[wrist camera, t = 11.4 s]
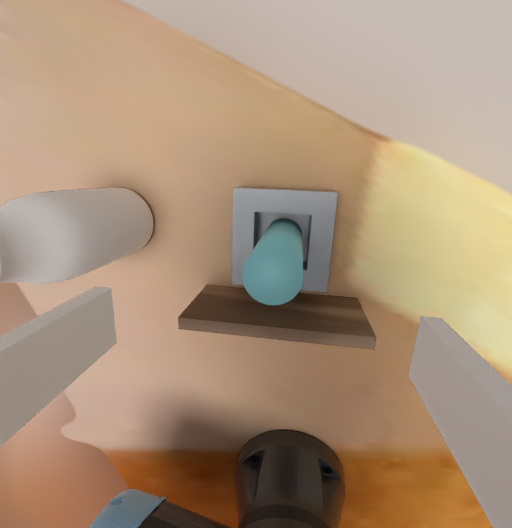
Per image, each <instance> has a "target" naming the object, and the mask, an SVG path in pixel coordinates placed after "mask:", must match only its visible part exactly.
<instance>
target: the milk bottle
mask: <svg viewBox="0 0 512 528" xmlns="http://www.w3.org/2000/svg"><path fill="white" fill-rule="evenodd" d="M152 232H153V217H152V213H151V210H150V208H149V207H148V205H147V203H146V202H145V201H144V200H143V199H142V198H141V197H140V196H139V195H138V194H136V193H135V192H133V191H131V190H128V189H125V188H95V189H77V190H62V191H49V192H40V193H34V194H29V195H25V196H22V197H19V198H16V199H13V200H11V201H9V202H7V203H5V204H4V205H2V206H1V207H0V283H6V282H22V283H33V284H49V283H56V282H61V281H65V280H69V279H72V278H75V277H78V276H80V275H83V274H85V273H88V272H90V271H93V270H95V269H97V268H100V267H102V266H104V265H107V264H109V263H111V262H113V261H116V260H118V259H120V258H122V257H125V256H127V255H129V254H131V253H134V252H136V251H137V250H139V249H141V248H143V247H144V246H145V245H146V244H147V243H148V241H149V240H150V238H151V235H152Z"/></svg>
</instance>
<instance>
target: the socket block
mask: <svg viewBox="0 0 512 528" xmlns="http://www.w3.org/2000/svg"><path fill="white" fill-rule="evenodd" d="M337 196H338V193H337V192H335V191H323V190H301V189H278V188H256V187H236V188H233V222H232V284H234V285H244V284H243V280H242V270H243V266H244V264H245V262H246V260H247V259H248V257H249V256H250V254H251V252H252V251H253V249H254V248H255V246H256V245H257V243H258V242H259V240H260V239H261V237H262V235H263V234H264V232H265V231H266V229H267V228H268V226H269V225H270V224H271V223H272V222H273V221H274V220H276V219H279V218H289V219H292V220H293V221H295V222H296V223H297V224H298V225H299V226H300V228H301V231H302V249H303V283H302V287H301V289H300V290H304V291H316V292H327V286H328V277H329V268H330V259H331V250H332V241H333V232H334V223H335V214H336V205H337Z"/></svg>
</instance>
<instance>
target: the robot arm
mask: <svg viewBox="0 0 512 528" xmlns="http://www.w3.org/2000/svg"><path fill="white" fill-rule="evenodd" d="M116 343H117V342H116V333H115V323H114V313H113V303H112V293H111V288H105V287H94V288H92V289H90V290H88V291H86V292H84V293H82V294H80V295H78V296H76V297H74V298H73V299H71V300H69V301H67V302H65V303H63V304H61V305H59V306H57V307H55V308H54V309H52V310H50V311H48V312H46V313H44V314H42V315H40V316H38V317H36V318H34V319H33V320H31V321H29V322H27V323H25V324H23V325H22V326H19V327H17V328H15V329H13V330H12V331H10V332H8V333H6V334H4V335H2V336H0V446H2V445H3V444H4V443H5V442H6V441H7V440H8V439H9V438H10V437H12V436H13V435H14V434H15V433H16V432H17V431H18V430H19V429H21V428H22V427H23V426H24V425H25V424H26V423H27V422H28V421H30V420H31V419H32V418H33V417H34V416H35V415H36V414H37V413H38V412H40V411H41V410H42V409H43V408H44V407H45V406H46V405H47V404H49V403H50V402H51V401H52V400H53V399H54V398H55V397H56V396H58V394H60V393H61V392H62V391H63V390H64V389H65V388H66V387H68V386H69V385H70V384H71V383H72V382H73V381H74V380H75V379H77V378H78V377H79V376H80V375H81V374H82V373H83V372H84V371H86V370H87V369H88V368H89V367H90V366H91V365H92V364H93V363H94V362H96V361H97V360H98V359H99V358H100V357H101V356H102V355H103V354H105V353H106V352H107V351H108V350H109V349H110V348H111V347H112V346H113V345H115V344H116ZM408 376H409V378H410V380H411V382H412V384H413V385H414V387H415V389H416V391H417V393H418V394H419V396H420V398H421V400H422V402H423V403H424V405H425V407H426V409H427V411H428V412H429V414H430V416H431V418H432V420H433V421H434V423H435V425H436V427H437V428H438V430H439V432H440V434H441V436H442V437H443V439H444V441H445V443H446V445H447V446H448V448H449V450H450V452H451V454H452V455H453V457H454V459H455V461H456V463H457V464H458V466H459V468H460V470H461V472H462V473H463V475H464V477H465V479H466V481H467V482H468V484H469V486H470V488H471V490H472V491H473V493H474V495H475V497H476V499H477V500H478V502H479V504H480V506H481V507H482V509H483V511H484V513H485V515H486V516H487V518H488V520H489V522H490V524H491V525H492V527H493V528H512V386H511V385H510V384H509V383H508V382H507V381H506V380H505V379H504V378H503V377H502V376H501V375H500V374H499V373H498V372H497V371H496V370H495V369H493V368H492V367H491V366H490V365H489V364H488V363H487V362H486V361H485V360H484V359H483V358H482V357H481V356H480V355H479V354H478V353H477V352H476V351H475V350H474V349H473V348H472V347H471V346H470V345H469V344H468V343H467V342H466V341H465V340H464V339H463V338H462V337H460V336H459V335H458V334H457V333H456V332H455V331H454V330H453V329H452V328H451V327H450V326H449V325H448V324H447V323H446V322H445V321H444V320H443V319H442V318H435V317H424V316H421V318H420V323H419V327H418V332H417V337H416V342H415V347H414V351H413V356H412V361H411V366H410V370H409V375H408ZM234 483H235V493H236V503H237V512H238V522H239V524H238V528H339V524H340V519H341V513H342V508H343V503H344V497H345V485H344V478H343V471H342V467H341V465H340V462H339V460H338V459H337V457H336V456H335V454H334V453H333V452H332V451H331V450H330V449H329V448H328V447H327V446H326V445H325V444H323V443H322V442H321V441H319V440H317V439H315V438H313V437H311V436H309V435H306V434H303V433H299V432H295V431H285V430H280V431H271V432H267V433H264V434H261V435H258V436H256V437H255V438H253V439H252V440H250V441H249V442H248V443H247V444H246V445H245V446H244V447H243V448H242V450H241V452H240V454H239V457H238V460H237V465H236V470H235V477H234ZM166 500H167V498H166V497H164V496H162V497H157V496H154V495H151V494H148V493H145V492H142V491H139V490H136V489H128V490H125V491H123V492H121V493H119V494H118V495H116V496H115V497H114V498H113V499H112V500H111V501H110V502H109V503H108V504H107V505H106V506H105V507H104V508H103V510H102V511H101V512H100V513H99V514H98V516H97V517H96V518H95V520H94V521H93V522H92V524H91V525H90V526H89V527H88V528H231V527H229V526H226V525H224V524H221V523H219V522H216V521H214V520H212V519H209V518H207V517H204V516H202V515H200V514H197V513H195V512H192V511H190V510H187V509H185V508H183V507H180V506H178V505H175V504H173V503H170V502H168V501H166Z"/></svg>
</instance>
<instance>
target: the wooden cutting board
mask: <svg viewBox="0 0 512 528" xmlns="http://www.w3.org/2000/svg"><path fill="white" fill-rule="evenodd" d="M178 324H179V329H184V330H193V331H203V332H212V333H221V334H231V335H240V336H250V337H259V338H268V339H278V340H287V341H297V342H306V343H316V344H325V345H334V346H344V347H353V348H363V349H372V350H374V348H375V342H376V336H375V334H374V332H373V330H372V328H371V326H370V324H369V322H368V320H367V317H366V315H365V313H364V311H363V309H362V307H361V305H360V303H359V301H358V299H357V298H349V297H338V296H326V295H315V294H303V293H298V294H297V295H296V296H295V297H294V298H293V299H292V300H290V301H288V302H286V303H284V304H280V305H267V304H263V303H261V302H258V301H257V300H255V299H254V298H253V297H251V296H250V294H249V293H248V292H247V290H246V289H245V288H234V287H222V286H211V285H206V286H205V287H204V289H203V290H202V291H201V292H200V293H199V294H198V295H197V297H196V298H195V299H194V300H193V301H192V302H191V303H190V305H189V306H188V307H187V308H186V309H185V310H184V311H183V313H182V314H181V315H180V316H179V317H178Z"/></svg>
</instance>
